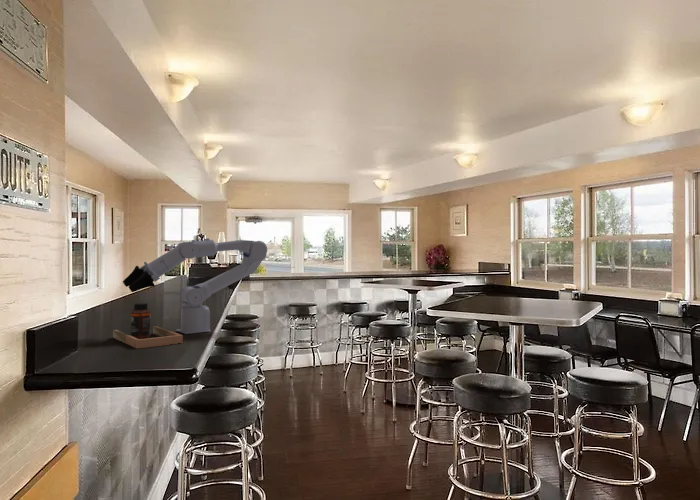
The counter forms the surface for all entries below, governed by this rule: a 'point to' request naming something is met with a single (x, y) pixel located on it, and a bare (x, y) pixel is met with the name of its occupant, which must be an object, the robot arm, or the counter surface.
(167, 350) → the counter surface
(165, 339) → the bay
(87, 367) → the counter surface
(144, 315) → the supplement bottle
